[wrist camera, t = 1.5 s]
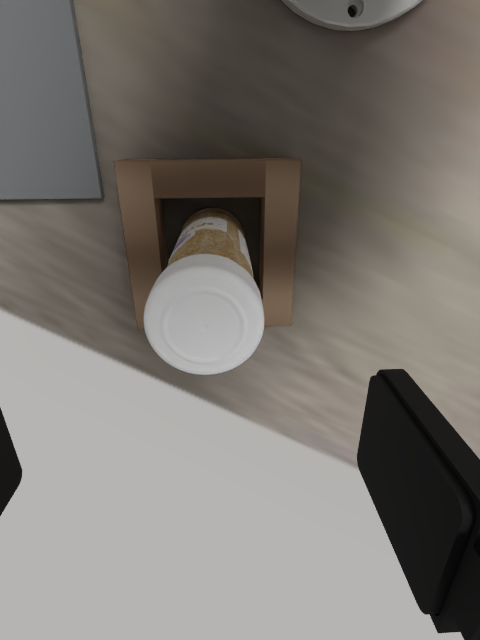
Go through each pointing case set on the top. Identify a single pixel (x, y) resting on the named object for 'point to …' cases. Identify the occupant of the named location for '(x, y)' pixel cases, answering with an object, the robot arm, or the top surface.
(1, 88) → the charcoal mat
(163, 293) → the sprinkles bottle
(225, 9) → the top surface
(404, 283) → the top surface
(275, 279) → the walnut caddy
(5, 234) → the top surface
